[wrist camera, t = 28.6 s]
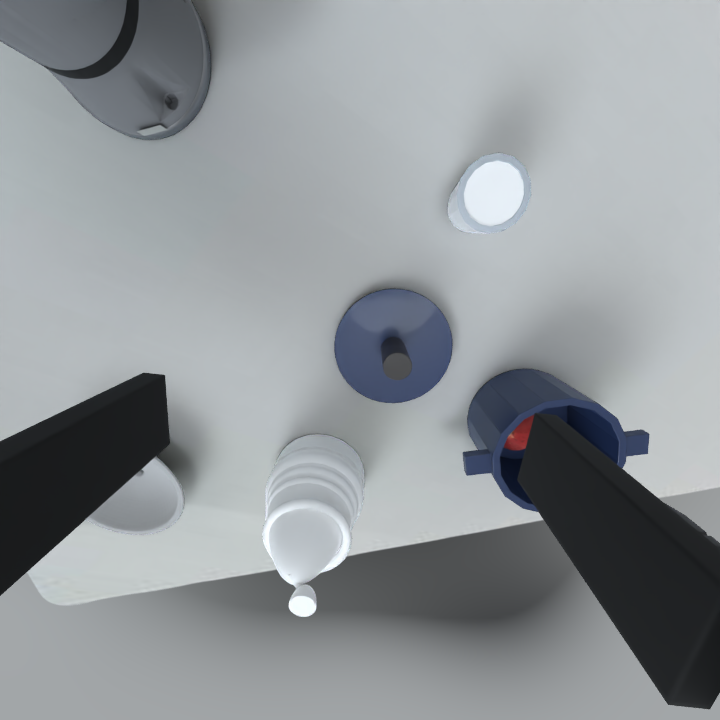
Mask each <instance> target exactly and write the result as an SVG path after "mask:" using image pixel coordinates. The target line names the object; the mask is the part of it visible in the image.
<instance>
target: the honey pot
mask: <svg viewBox="0 0 720 720" xmlns="http://www.w3.org/2000/svg"><path fill="white" fill-rule="evenodd" d="M364 476H365V475H364V468H363V464H362V462H361V459H360V457H359V455H358V454H357V453H356V452H355V450H354V449H353V448H352V447H351V446H350V445H348V444H347V443H345V442H344V441H342V440H340V439H338V438H335V437H333V436H329V435H322V434H314V435H306V436H303V437H300V438H298V439H295V440H294V441H293V442H291V443H290V444H288V445H287V446H286V447H285V448H284V450H283V451H282V452H281V453H280V455H279V457H278V459H277V462H276V464H275V466H274V468H273V470H272V472H271V474H270V477H269V479H268V482H267V484H266V493H265V500H266V511H265V517H266V521H265V523H264V525H263V535H262V538H263V542H264V546H265V548H266V550H267V551H268V553H269V555H270V556H271V557H272V558H273V561H274V564H275V566H276V568H277V570H278V572H279V574H280V575H281V577H282V578H283V579H284V580H285V581H287V582H288V583H290V584H293V585H294V586H295V588H296V590H295V591H294V593H293V594H292V596H291V599H290V602H289V608H290V610H291V611H292V613H294V614H295V615H298V616H302V617H304V616H309V615H311V614H313V613H314V612H315V610H316V595H315V592H314V590H313V588H312V587H311V586H309V585H302V584H304V583H306V582H308V581H310V580H312V579H313V578H315V577H316V576H317V575H318V574H319V573H322V572H325V571H328V570H331V569H332V568H334V567H336V566H337V565H339V564H340V563H341V562H342V561H343V560H344V559H345V558H346V556H347V554H348V552H349V550H350V548H351V542H352V534H351V530H352V528H353V525H354V523H355V522H356V520H357V518H358V516H359V515H360V513H361V510H362V506H363V500H364ZM341 545H342V546H341ZM340 547H341V548H340ZM339 548H340V550H339ZM338 550H339V551H338ZM337 551H338V552H337Z"/></svg>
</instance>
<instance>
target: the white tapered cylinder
mask: <svg viewBox="0 0 720 720" xmlns="http://www.w3.org/2000/svg"><path fill="white" fill-rule="evenodd" d="M530 196H531V180H530V177H529V175H528V173H527V171H526V168H525V166H524V165H523V164H522V163H521V162H519V161H518V160H517V159H516V158H515V157H514V156H511V155H506V154H502V153H495V154H490V155H485V156H483V157H481V158H480V159H478V160H477V161H475V162H474V163H472V164H471V165H470V166H469V167H468V169H467V170H466V172H465V173H464V175H463V176H462V177H461V179H460V181H459V182H458V184H457V185H456V187H455V189H454V190H453V192H452V193H451V195H450V198H449V202H448V206H447V207H448V217H449V218H450V220H451V222H452V224H453V225H454V226H455V227H456V228H457V229H459V230H460V231H463V232H468V233H486V234H489V233H495V232H500V231H504V230H505V229H507V228H509V227H510V226H512V225H513V224H515V223H516V222H517V221H518V220H519V218H520V217H521V216H522V215H523V213H524V212H525V211H526V208H527V205H528V202H529V199H530Z"/></svg>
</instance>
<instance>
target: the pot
mask: <svg viewBox="0 0 720 720" xmlns="http://www.w3.org/2000/svg"><path fill="white" fill-rule="evenodd" d="M535 413H541V414H551V415H557V416H558V417H560V418H561V419H562V420H563V421H564V422H566V423H567V424H568V425H569V426H571V427H572V428H573V429H574V430H575V431H577V432H578V433H579V434H580V435H582V436H583V437H584V438H585V439H586V440H588V441H589V442H590V443H591V444H593V445H594V446H595V447H596V448H597V449H599V450H600V451H601V452H602V453H603V454H605V455H606V456H607V457H608V458H610V459H611V460H612V461H613V462H614V463H616V464H617V465H618V466H619V467H621V468H623V466H624V464H625V462H626V456H633V455H641V454H648V444H649V433H647V432H645V431H644V430H635V431H627V432H624V431H623V429H622V427H621V425H620V423H619V421H618V419H617V418H616V417H615V416H614V415H612V414H611V413H610V412H609V411H607V410H606V409H605V408H603V407H602V406H601V405H599V404H598V403H596V402H595V401H593V400H591V399H590V398H588V397H587V396H585V395H583V394H582V393H580V392H578V391H577V390H575V389H574V388H572V387H570V386H569V385H567V384H566V383H564V382H562V381H561V380H559V379H557V378H556V377H554V376H553V375H551V374H549V373H545V372H542V371H539V370H534V369H516V370H512V371H508V372H505V373H502V374H500V375H498V376H496V377H494V378H493V379H491V380H490V381H488V382H487V383H486V384H485V385H484V386H483V387H482V388H481V389H480V390H479V391H478V392H477V394H476V395H475V397H474V398H473V400H472V402H471V405H470V408H469V411H468V418H467V423H468V430H469V435H470V437H471V439H472V440H473V442H474V444H475V446H476V447H477V449H478V450H475V451H468V452H463V461H464V471H465V473H466V475H467V476H468V475H476V474H484V473H491V474H492V475H493V477H494V479H495V481H496V482H497V484H498V486H499V487H500V489H501V491H502V492H503V494H504V496H505V497H507V498H508V499H510V500H511V501H513V502H514V503H516V504H517V505H519V506H520V507H522V508H523V509H527V510H532V511H536V512H538V510H537V509H536V507H535V506H534V504H533V503H532V501H531V500H530V498H529V497H528V495H527V494H526V492H525V491H524V489H523V488H522V486H521V485H520V483H519V482H518V480H517V478H518V475H519V471H520V467H521V463H522V460H523V456H524V452H525V449H523V450H508V449H506V448H504V445H505V443H506V440H507V438H508V436H509V435H510V434H511V433H512V432H513V431H514V430H515V429H516V427H517V426H518V425H519V424H520V423H521V422H522V421H523V420H524V419H526V418H528V417H530V416H532V415H534V414H535Z"/></svg>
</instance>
